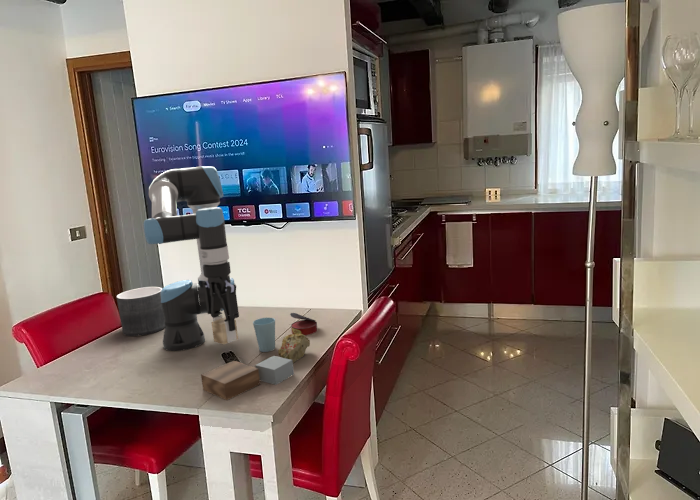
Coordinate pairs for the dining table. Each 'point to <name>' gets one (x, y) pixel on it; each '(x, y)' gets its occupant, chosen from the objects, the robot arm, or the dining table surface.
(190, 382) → the dining table surface
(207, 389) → the walnut pedestal
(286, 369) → the slate block
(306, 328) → the canned food
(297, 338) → the rock
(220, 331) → the oak block
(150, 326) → the planter
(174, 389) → the dining table surface
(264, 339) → the cup
